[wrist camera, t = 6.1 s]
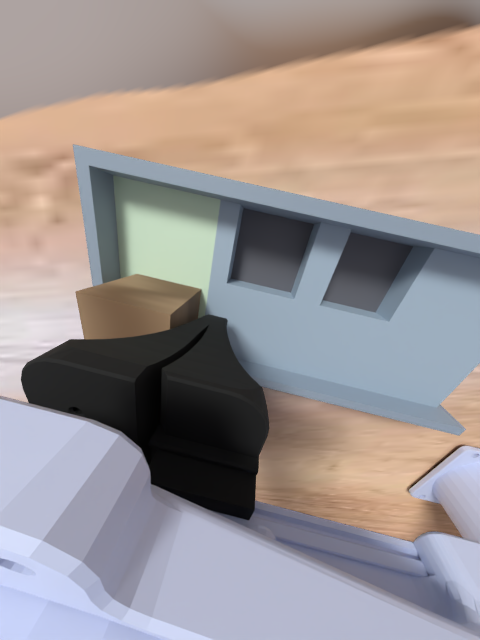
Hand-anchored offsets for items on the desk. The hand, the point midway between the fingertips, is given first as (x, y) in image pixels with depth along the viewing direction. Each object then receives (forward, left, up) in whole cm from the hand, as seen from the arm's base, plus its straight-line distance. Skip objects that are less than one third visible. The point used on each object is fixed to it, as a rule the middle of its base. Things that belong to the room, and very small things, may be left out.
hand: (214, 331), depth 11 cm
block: (+3, 0, -1) cm, 4 cm away
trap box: (-5, -2, -3) cm, 6 cm away
